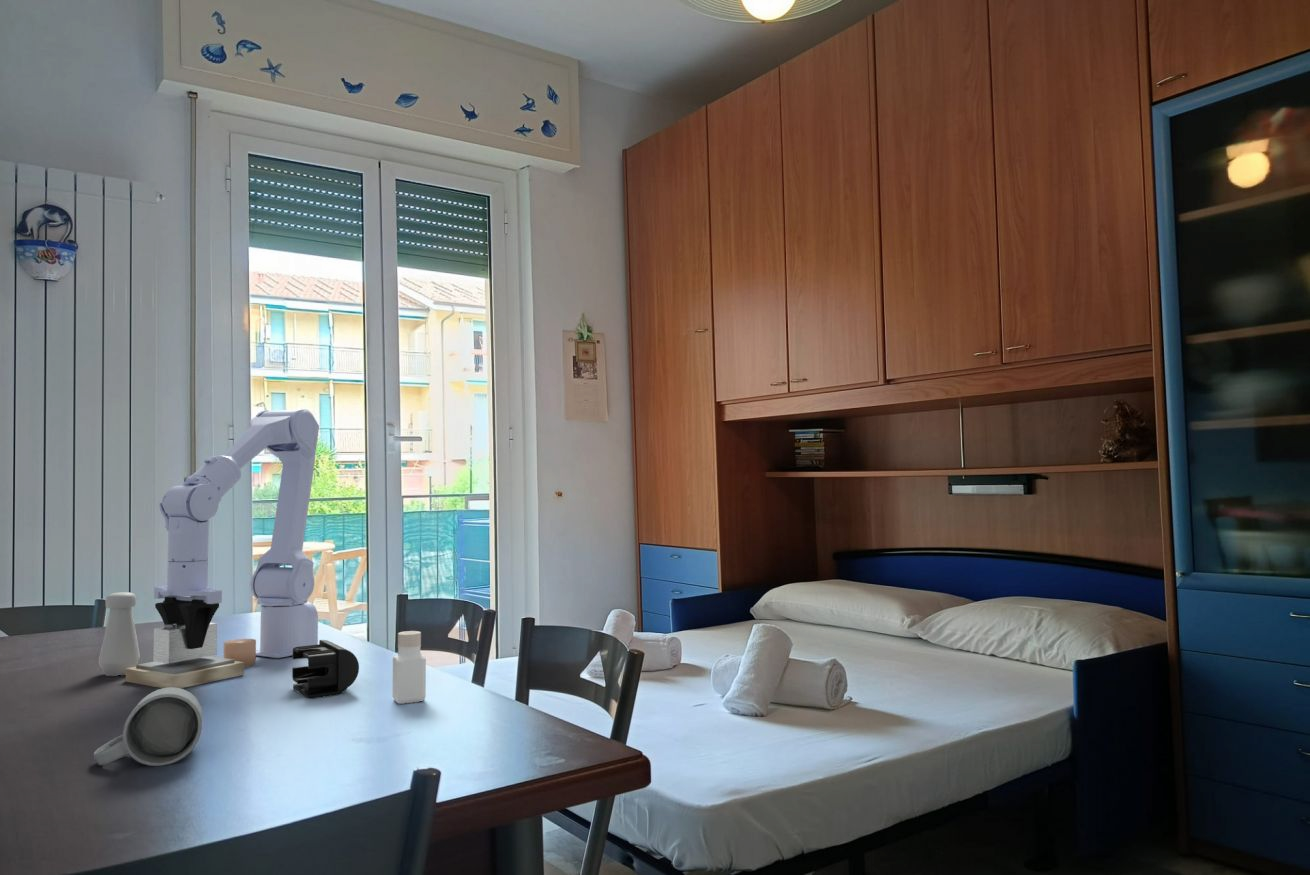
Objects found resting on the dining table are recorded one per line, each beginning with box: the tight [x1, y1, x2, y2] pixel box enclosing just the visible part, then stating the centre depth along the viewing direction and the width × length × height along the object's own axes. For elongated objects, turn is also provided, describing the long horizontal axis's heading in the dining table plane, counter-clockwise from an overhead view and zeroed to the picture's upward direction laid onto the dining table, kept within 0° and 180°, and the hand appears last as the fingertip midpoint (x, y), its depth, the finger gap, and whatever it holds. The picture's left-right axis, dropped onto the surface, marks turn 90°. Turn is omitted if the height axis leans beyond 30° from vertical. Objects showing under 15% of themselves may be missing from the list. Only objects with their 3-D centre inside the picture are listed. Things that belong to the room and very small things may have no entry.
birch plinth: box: [125, 655, 245, 689], centre depth 143 cm, size 12×12×2 cm
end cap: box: [291, 639, 360, 700], centre depth 135 cm, size 10×7×7 cm
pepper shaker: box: [392, 630, 427, 705], centre depth 128 cm, size 4×4×10 cm
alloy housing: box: [152, 622, 218, 663], centre depth 143 cm, size 8×4×6 cm, turn 150°
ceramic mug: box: [93, 687, 203, 767], centre depth 102 cm, size 11×8×8 cm
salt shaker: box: [97, 591, 141, 677], centre depth 147 cm, size 6×6×13 cm
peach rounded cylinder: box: [222, 638, 257, 668], centre depth 154 cm, size 5×5×4 cm
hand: (186, 646), depth 143 cm, fingers closed on alloy housing, 4 cm apart
